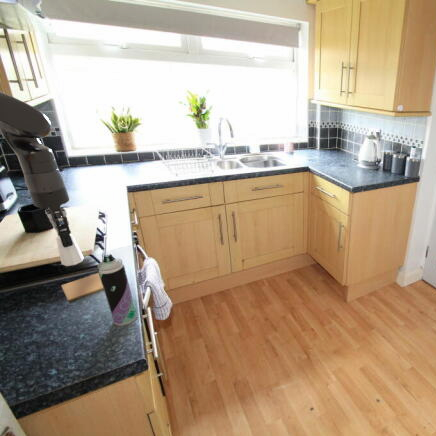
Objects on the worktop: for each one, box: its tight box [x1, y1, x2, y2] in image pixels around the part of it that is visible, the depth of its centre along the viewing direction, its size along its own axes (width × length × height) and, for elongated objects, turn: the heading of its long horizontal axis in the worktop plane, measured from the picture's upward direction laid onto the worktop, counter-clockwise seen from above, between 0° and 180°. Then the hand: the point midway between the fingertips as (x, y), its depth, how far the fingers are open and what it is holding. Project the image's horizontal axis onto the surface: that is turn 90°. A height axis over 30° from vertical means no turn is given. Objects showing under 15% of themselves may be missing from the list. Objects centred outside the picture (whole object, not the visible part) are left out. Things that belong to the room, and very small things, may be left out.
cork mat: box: [60, 272, 104, 302], centre depth 98 cm, size 12×10×1 cm
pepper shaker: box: [55, 229, 85, 267], centre depth 92 cm, size 5×5×11 cm
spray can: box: [97, 253, 138, 327], centre depth 83 cm, size 6×6×20 cm
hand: (66, 243), depth 92 cm, fingers closed on pepper shaker, 4 cm apart
